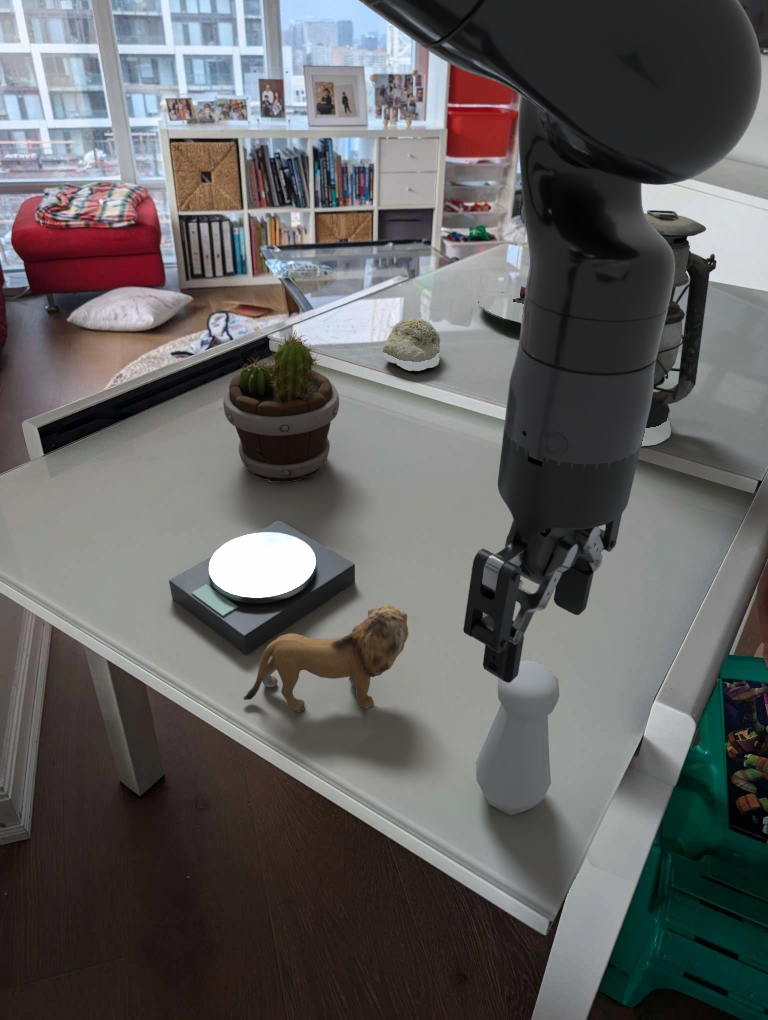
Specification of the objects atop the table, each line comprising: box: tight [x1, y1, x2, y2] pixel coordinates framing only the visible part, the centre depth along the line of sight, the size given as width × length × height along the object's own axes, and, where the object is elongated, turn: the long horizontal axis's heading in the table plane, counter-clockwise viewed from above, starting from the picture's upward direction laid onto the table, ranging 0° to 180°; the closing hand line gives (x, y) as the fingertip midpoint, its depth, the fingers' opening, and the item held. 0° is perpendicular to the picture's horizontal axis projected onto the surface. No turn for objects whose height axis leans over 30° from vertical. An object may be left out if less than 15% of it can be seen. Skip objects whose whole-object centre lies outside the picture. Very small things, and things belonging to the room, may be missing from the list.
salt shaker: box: [475, 660, 560, 816], centre depth 56 cm, size 6×6×13 cm
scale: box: [168, 519, 356, 656], centre depth 79 cm, size 15×12×3 cm
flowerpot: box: [222, 329, 340, 483], centre depth 96 cm, size 14×15×20 cm
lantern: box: [644, 209, 717, 428], centre depth 107 cm, size 19×19×30 cm
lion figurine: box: [243, 604, 409, 713], centre depth 66 cm, size 15×5×9 cm, turn 102°
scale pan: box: [208, 532, 317, 604], centre depth 78 cm, size 11×11×1 cm
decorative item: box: [382, 317, 441, 362], centre depth 130 cm, size 12×9×10 cm
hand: (535, 639), depth 51 cm, fingers open, 8 cm apart
